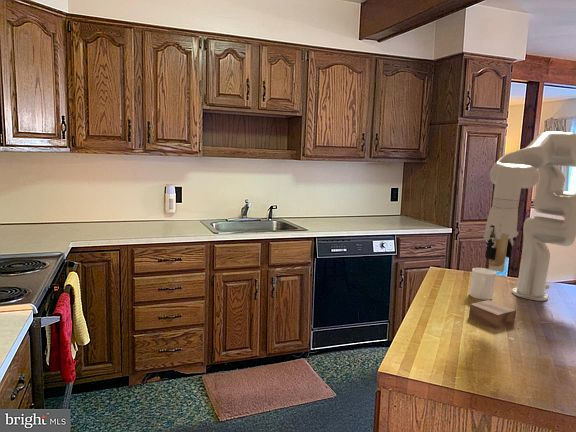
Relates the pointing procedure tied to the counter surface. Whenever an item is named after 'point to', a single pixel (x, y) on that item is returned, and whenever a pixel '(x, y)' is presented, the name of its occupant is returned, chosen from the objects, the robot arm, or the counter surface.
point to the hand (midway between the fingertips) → (498, 257)
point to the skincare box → (500, 254)
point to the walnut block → (492, 314)
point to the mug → (482, 283)
